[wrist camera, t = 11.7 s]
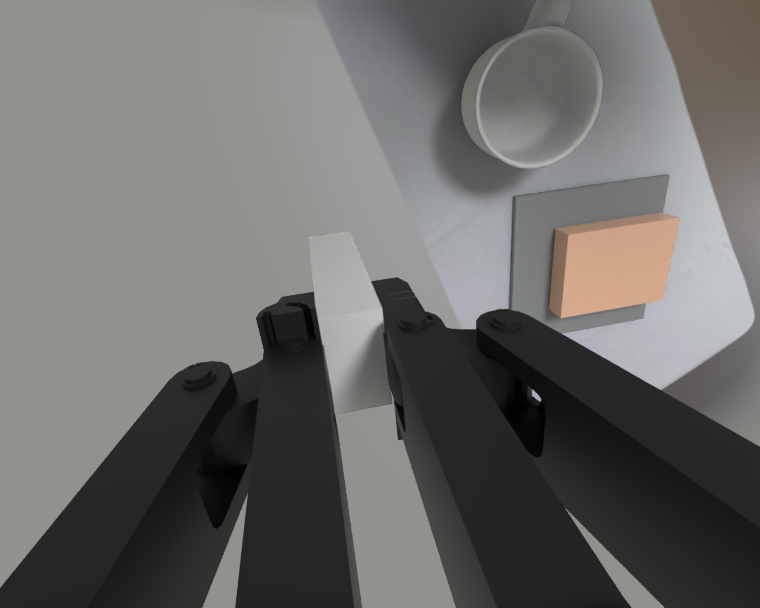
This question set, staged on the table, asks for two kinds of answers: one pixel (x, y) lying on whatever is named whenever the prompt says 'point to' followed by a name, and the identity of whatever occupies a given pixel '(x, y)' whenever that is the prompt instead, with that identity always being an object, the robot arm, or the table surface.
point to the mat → (565, 209)
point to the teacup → (534, 91)
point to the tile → (611, 263)
